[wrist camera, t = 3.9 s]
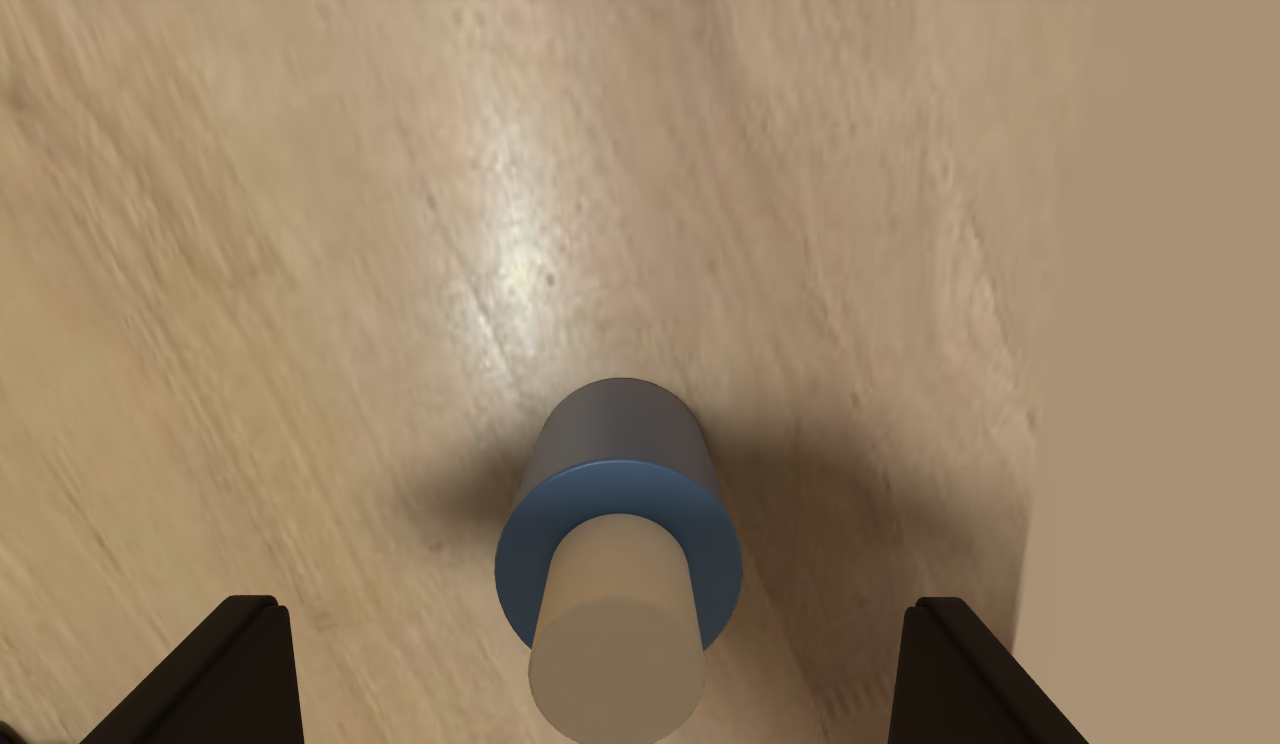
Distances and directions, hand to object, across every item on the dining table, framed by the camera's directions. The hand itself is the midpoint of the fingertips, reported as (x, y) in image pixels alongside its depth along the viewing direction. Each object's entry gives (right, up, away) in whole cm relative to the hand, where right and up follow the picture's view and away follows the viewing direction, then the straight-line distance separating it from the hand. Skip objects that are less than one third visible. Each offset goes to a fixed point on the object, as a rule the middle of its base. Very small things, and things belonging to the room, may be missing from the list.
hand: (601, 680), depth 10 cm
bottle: (0, +2, +10) cm, 10 cm away
